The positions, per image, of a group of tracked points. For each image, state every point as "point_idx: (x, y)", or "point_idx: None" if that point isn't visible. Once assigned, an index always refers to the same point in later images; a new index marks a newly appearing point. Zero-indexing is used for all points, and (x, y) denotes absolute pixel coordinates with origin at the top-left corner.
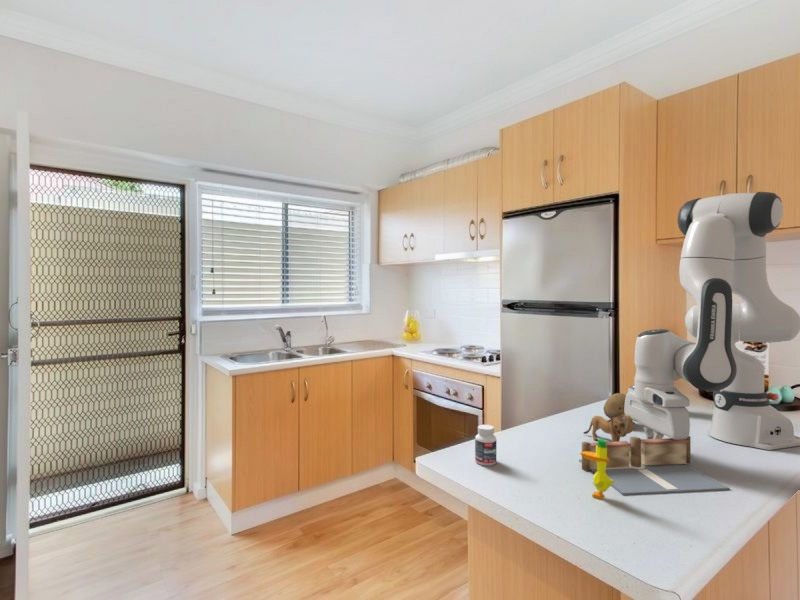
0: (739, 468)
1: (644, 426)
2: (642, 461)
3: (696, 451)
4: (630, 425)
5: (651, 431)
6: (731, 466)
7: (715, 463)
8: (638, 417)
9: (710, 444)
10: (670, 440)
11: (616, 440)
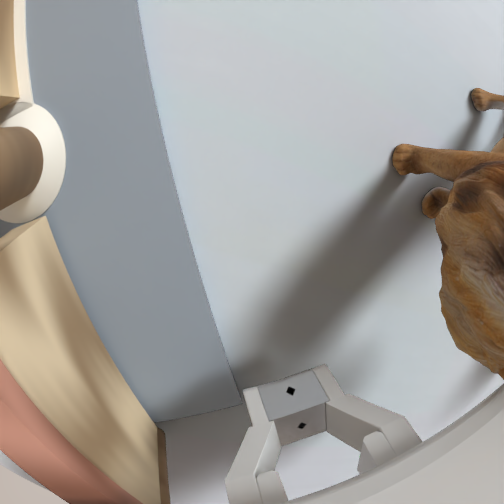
0: (173, 500)
1: (405, 440)
2: (28, 224)
3: (311, 461)
4: (478, 335)
5: (360, 444)
6: (184, 495)
7: (200, 481)
8: (492, 453)
9: (358, 474)
10: (76, 500)
11: (449, 191)
